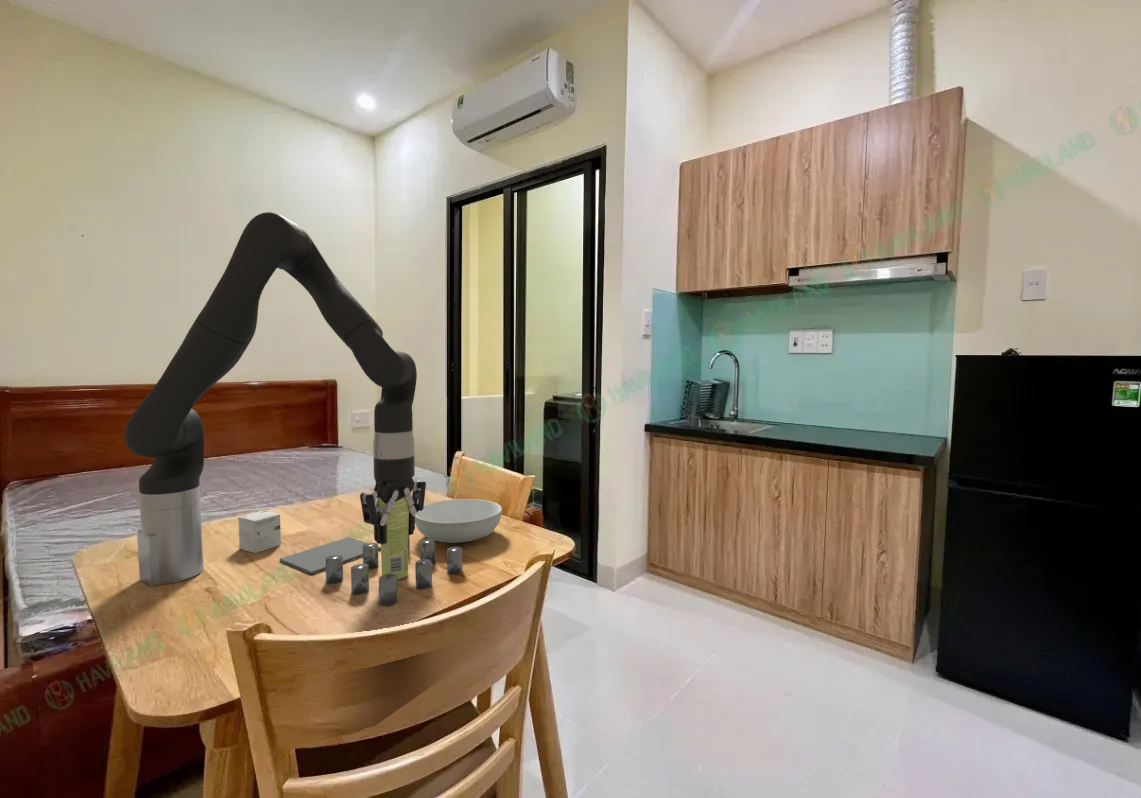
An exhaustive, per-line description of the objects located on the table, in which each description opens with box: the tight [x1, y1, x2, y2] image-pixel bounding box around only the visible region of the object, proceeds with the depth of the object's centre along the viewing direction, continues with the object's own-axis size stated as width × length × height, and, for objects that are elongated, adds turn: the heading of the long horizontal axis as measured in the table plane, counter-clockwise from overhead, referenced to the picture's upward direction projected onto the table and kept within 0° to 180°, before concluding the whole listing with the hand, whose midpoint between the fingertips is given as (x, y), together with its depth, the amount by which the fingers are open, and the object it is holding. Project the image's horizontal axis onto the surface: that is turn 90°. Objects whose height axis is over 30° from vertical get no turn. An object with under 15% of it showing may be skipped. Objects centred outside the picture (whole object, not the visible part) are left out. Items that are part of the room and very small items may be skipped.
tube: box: [377, 487, 409, 580], centre depth 100 cm, size 6×5×20 cm
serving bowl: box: [415, 498, 503, 544], centre depth 123 cm, size 21×21×7 cm
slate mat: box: [279, 536, 381, 575], centre depth 110 cm, size 16×12×1 cm
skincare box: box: [238, 510, 282, 554], centre depth 115 cm, size 6×6×7 cm
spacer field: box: [325, 535, 463, 607], centre depth 100 cm, size 19×19×4 cm
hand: (395, 538), depth 100 cm, fingers closed on tube, 6 cm apart
